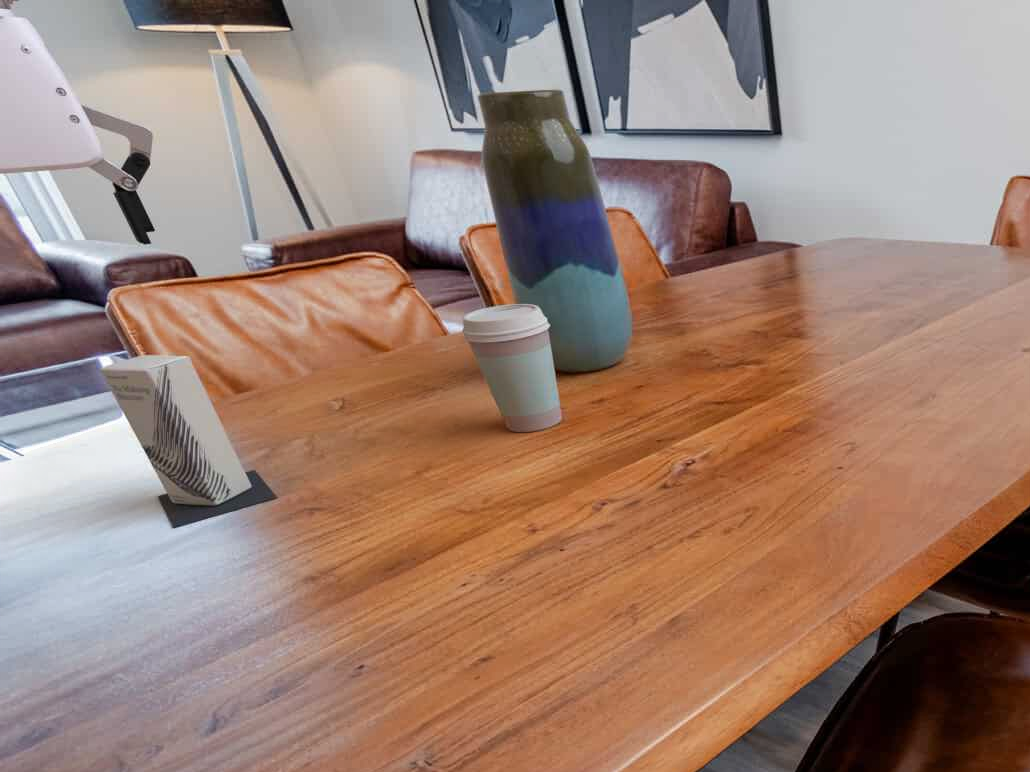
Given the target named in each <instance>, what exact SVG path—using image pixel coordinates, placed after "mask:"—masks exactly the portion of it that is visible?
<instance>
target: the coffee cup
mask: <svg viewBox="0 0 1030 772" xmlns="http://www.w3.org/2000/svg"><path fill="white" fill-rule="evenodd" d="M462 322H463V323H462V325H463V326H462V327H463V328H462V331H461V332H462V334H463V336H462V338H463V339H464V340H465V341H467V342H468V345H469V346H470V349H471V351H472V353H473V356H474V357H475V360H476V362H477V364H478V367H479V369H480V371H481V373H482V376H483V378H484V380H485V382H486V384H487V387H488V389H489V391H490V393H491V395H492V398H493V400H494V402H495V405H496V407H497V409H498V410H499V413H500V415H501V418H502V420H503V422H504V424H505V426H506V428H507V430H509V431H511V432H514V433H531V432H538V431H542V430H546V429H549V428H552V427H554V426H556V425H558V424H559V423H560V422H561V421H562V420H563V415H562V409H561V403H560V395H559V389H558V383H557V378H556V371H555V370H556V369H554V363H553V357H552V351H551V344H550V338H549V332H548V328H549V327H550V324H549V323H548V322H547V318H546V317H545V316H544V315H543V313H542V311H541V309H540V308H539V307H538V306H536V305H532V304H515V303H511V304H503V305H502V304H501V305H496V306H489V307H485V308H480V309H477V310H474V311H471V312H468V313H466V314H464V315H463V317H462Z"/></svg>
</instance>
